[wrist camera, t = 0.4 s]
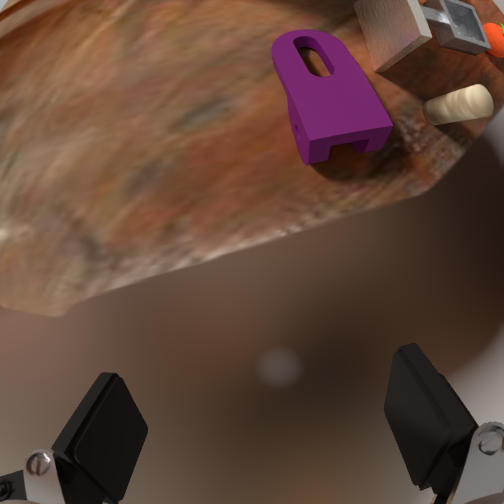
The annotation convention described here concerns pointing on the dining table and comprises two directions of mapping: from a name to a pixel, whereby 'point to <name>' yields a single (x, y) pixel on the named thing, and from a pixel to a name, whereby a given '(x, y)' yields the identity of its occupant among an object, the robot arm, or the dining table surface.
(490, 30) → the clementine
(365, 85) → the mounting bracket
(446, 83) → the dining table surface
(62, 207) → the dining table surface
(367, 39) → the cup bracket
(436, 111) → the maple peg
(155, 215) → the dining table surface
